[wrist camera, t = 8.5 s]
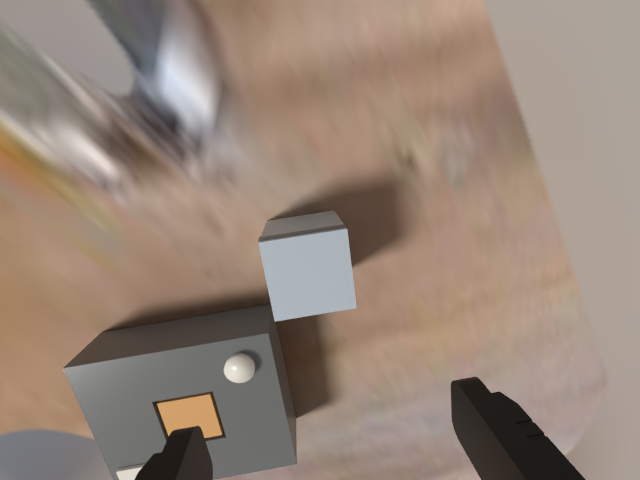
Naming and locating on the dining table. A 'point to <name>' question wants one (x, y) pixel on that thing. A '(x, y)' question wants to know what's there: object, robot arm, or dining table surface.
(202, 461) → the robot arm
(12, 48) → the dining table surface
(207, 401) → the breaker button
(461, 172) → the dining table surface
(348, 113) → the dining table surface
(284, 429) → the box
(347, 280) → the cap
